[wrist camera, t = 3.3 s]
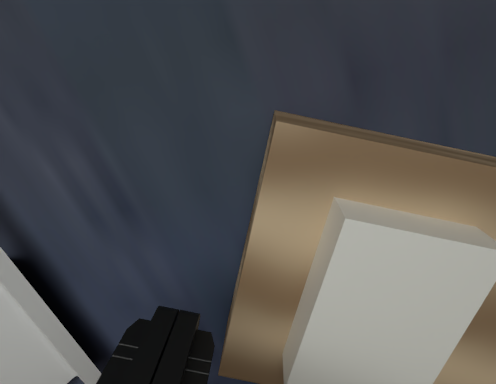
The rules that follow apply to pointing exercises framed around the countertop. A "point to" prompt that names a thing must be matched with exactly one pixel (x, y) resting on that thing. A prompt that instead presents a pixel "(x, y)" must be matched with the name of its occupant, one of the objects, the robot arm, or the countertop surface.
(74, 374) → the tablet stand
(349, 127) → the board
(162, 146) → the countertop surface
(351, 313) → the pale grey rectangular block
